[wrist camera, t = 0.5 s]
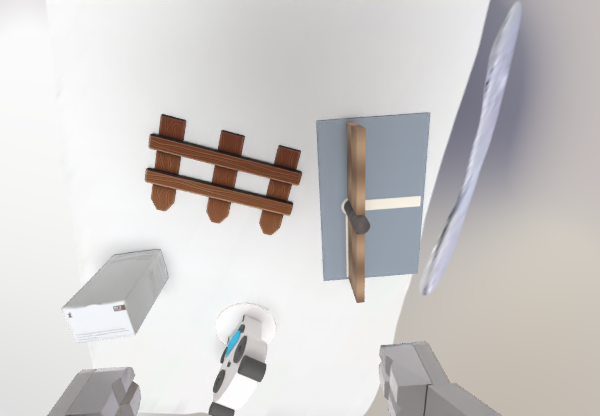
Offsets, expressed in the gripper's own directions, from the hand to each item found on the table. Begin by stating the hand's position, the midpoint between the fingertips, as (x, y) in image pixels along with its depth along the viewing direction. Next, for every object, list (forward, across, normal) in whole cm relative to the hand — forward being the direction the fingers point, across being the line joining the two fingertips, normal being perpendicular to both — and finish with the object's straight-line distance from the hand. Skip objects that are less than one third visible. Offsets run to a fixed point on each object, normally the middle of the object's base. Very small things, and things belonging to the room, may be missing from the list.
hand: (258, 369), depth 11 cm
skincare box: (+42, +25, +19) cm, 52 cm away
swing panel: (+41, -11, +4) cm, 42 cm away
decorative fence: (+43, +9, +5) cm, 44 cm away
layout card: (+42, -14, +11) cm, 45 cm away
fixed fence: (+41, -11, +17) cm, 46 cm away
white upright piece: (+42, +9, +34) cm, 55 cm away
